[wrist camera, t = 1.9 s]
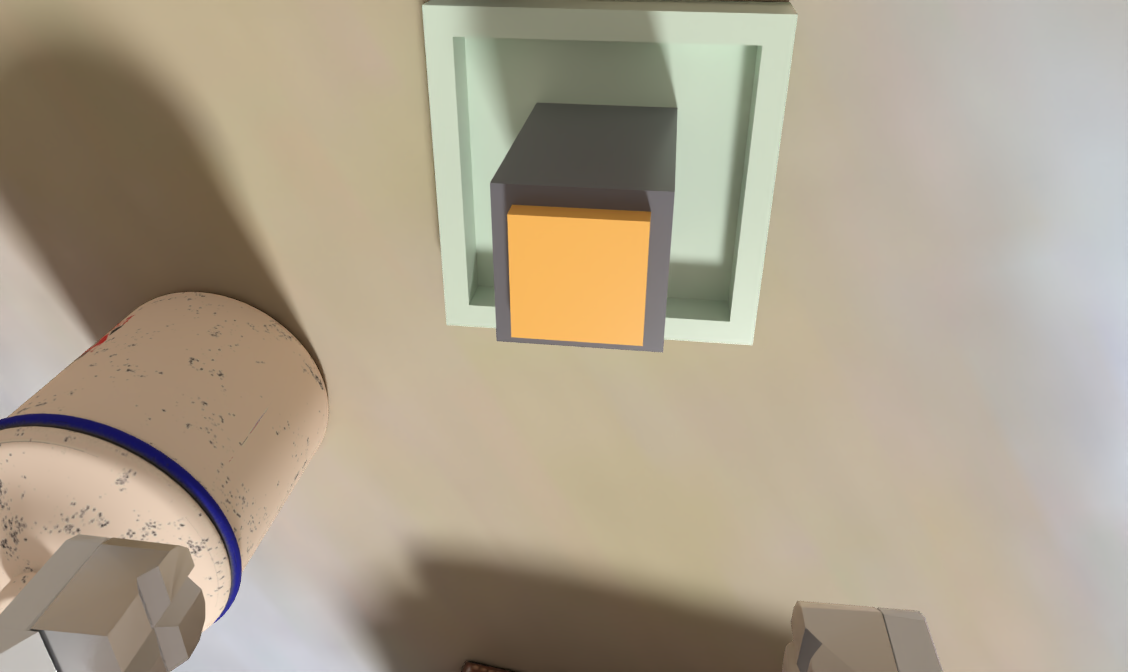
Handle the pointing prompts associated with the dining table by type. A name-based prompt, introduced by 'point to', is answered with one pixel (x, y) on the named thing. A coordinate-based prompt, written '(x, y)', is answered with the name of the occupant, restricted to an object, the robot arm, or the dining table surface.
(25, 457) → the teacup with lid
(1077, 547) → the dining table surface
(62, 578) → the robot arm
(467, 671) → the letter holder
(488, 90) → the tray
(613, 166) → the plug
